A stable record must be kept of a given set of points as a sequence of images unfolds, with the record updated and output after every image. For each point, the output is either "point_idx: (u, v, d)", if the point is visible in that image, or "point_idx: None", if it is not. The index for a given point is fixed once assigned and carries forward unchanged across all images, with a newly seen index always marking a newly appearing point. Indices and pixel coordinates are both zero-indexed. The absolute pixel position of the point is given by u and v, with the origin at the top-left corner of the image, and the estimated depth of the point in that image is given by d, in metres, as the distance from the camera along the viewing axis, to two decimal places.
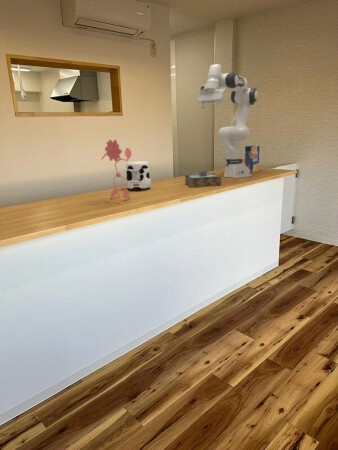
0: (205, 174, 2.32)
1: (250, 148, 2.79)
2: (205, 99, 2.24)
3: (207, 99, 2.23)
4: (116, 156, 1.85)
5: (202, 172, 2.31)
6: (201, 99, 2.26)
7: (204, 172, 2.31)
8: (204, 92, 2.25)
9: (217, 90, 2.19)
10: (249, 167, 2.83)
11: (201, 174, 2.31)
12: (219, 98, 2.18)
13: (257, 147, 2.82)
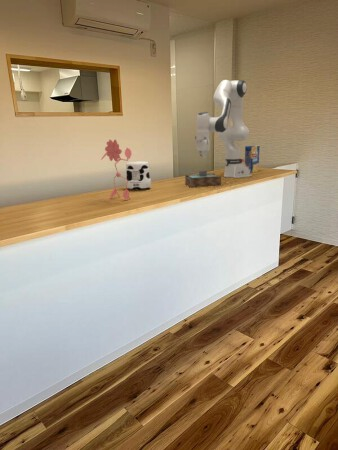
0: (205, 174, 2.32)
1: (250, 148, 2.79)
2: (199, 149, 2.30)
3: (199, 149, 2.28)
4: (116, 156, 1.85)
5: (202, 172, 2.31)
6: (197, 148, 2.33)
7: (204, 172, 2.31)
8: (198, 141, 2.30)
9: (202, 141, 2.20)
10: (249, 167, 2.83)
11: (201, 174, 2.31)
12: (204, 150, 2.20)
13: (257, 147, 2.82)
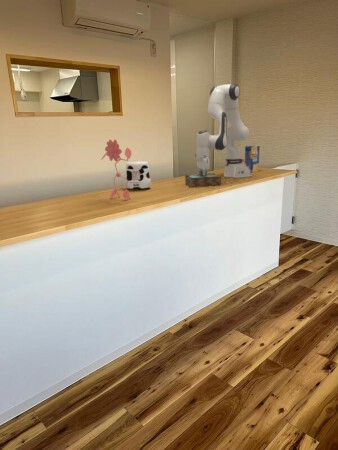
0: (205, 174, 2.32)
1: (250, 148, 2.79)
2: (199, 166, 2.33)
3: (200, 166, 2.32)
4: (116, 156, 1.85)
5: (202, 172, 2.31)
6: (198, 165, 2.37)
7: None
8: (198, 159, 2.34)
9: (202, 159, 2.24)
10: (249, 167, 2.83)
11: (201, 174, 2.31)
12: (204, 168, 2.23)
13: (257, 147, 2.82)
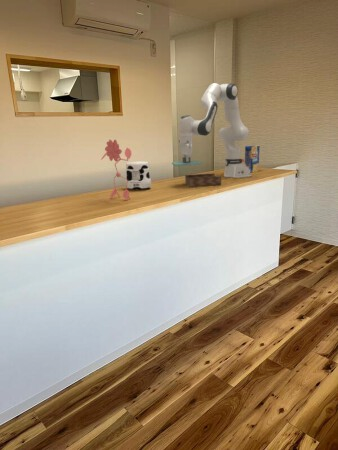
0: (189, 160, 2.27)
1: (250, 148, 2.79)
2: (182, 152, 2.28)
3: (183, 153, 2.27)
4: (116, 156, 1.85)
5: (185, 158, 2.26)
6: (181, 151, 2.31)
7: None
8: (181, 145, 2.28)
9: (185, 145, 2.19)
10: (249, 167, 2.83)
11: (184, 160, 2.26)
12: (187, 154, 2.18)
13: (257, 147, 2.82)
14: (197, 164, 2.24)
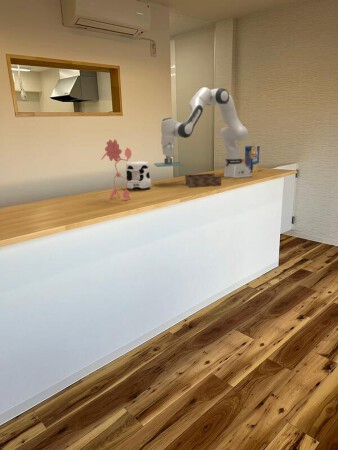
0: (170, 161, 2.32)
1: (250, 148, 2.79)
2: (164, 153, 2.34)
3: (165, 154, 2.32)
4: (116, 156, 1.85)
5: (167, 159, 2.32)
6: (164, 153, 2.37)
7: None
8: (163, 146, 2.34)
9: (167, 146, 2.25)
10: (249, 167, 2.83)
11: (166, 161, 2.32)
12: (168, 155, 2.24)
13: (257, 147, 2.82)
14: (178, 165, 2.29)
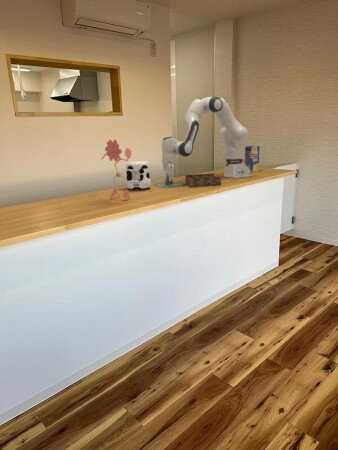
0: (171, 182, 2.37)
1: (250, 148, 2.79)
2: (165, 171, 2.38)
3: (166, 172, 2.36)
4: (116, 156, 1.85)
5: (168, 180, 2.36)
6: (164, 170, 2.41)
7: None
8: None
9: (167, 165, 2.28)
10: (249, 167, 2.83)
11: (167, 182, 2.36)
12: (168, 174, 2.27)
13: (257, 147, 2.82)
14: None
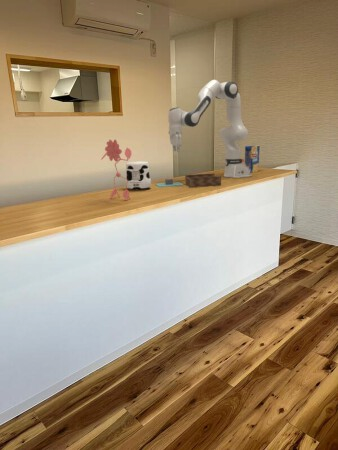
0: (171, 182, 2.37)
1: (250, 148, 2.79)
2: (172, 143, 2.39)
3: (173, 143, 2.38)
4: (116, 156, 1.85)
5: (168, 180, 2.36)
6: (171, 142, 2.42)
7: (170, 180, 2.36)
8: (171, 136, 2.39)
9: (175, 136, 2.30)
10: (249, 167, 2.83)
11: (167, 182, 2.36)
12: (176, 144, 2.29)
13: (257, 147, 2.82)
14: None
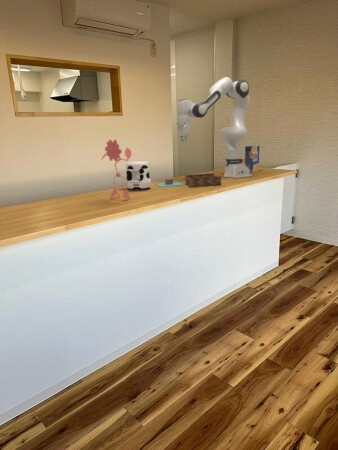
0: (171, 182, 2.37)
1: (250, 148, 2.79)
2: (180, 134, 2.46)
3: (180, 134, 2.45)
4: (116, 156, 1.85)
5: (168, 180, 2.36)
6: (179, 133, 2.49)
7: (170, 180, 2.36)
8: (179, 127, 2.46)
9: (183, 126, 2.37)
10: (249, 167, 2.83)
11: (167, 182, 2.36)
12: (184, 134, 2.36)
13: (257, 147, 2.82)
14: None
